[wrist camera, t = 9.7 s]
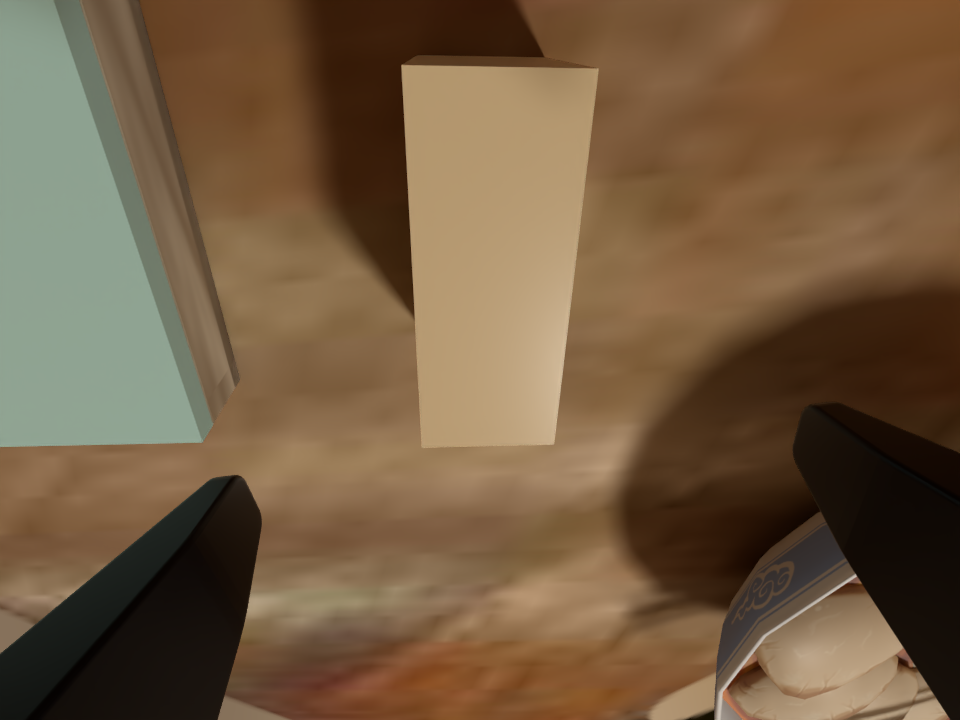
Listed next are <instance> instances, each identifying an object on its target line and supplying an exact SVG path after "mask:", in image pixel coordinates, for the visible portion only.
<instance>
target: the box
mask: <svg viewBox="0 0 960 720" xmlns="http://www.w3.org/2000/svg"><path fill="white" fill-rule="evenodd" d="M79 2H80V5H81V8H82V12H83V15H84V18H85V21H86V24H87V27H88V31H89V34H90V37H91V40H92V43H93V46H94V50H95V53H96V56H97V59H98V62H99V65H100V69H101V72H102V75H103V78H104V81H105V84H106V88H107V91H108V94H109V97H110V100H111V103H112V107H113V110H114V113H115V116H116V119H117V122H118V125H119V129H120V132H121V135H122V138H123V141H124V144H125V148H126V151H127V154H128V157H129V160H130V163H131V167H132V170H133V173H134V176H135V179H136V182H137V186H138V189H139V192H140V195H141V198H142V201H143V205H144V208H145V211H146V214H147V217H148V220H149V224H150V227H151V230H152V233H153V236H154V239H155V242H156V246H157V249H158V252H159V255H160V258H161V261H162V265H163V268H164V271H165V274H166V277H167V280H168V284H169V287H170V290H171V293H172V296H173V299H174V303H175V306H176V309H177V312H178V315H179V318H180V322H181V325H182V328H183V331H184V334H185V337H186V341H187V344H188V347H189V350H190V353H191V356H192V359H193V363H194V366H195V369H196V372H197V375H198V378H199V382H200V385H201V388H202V391H203V394H204V397H205V401H206V404H207V407H208V410H209V413H210V416H211V420H212V423H214V422H215V420H216V419H217V417H218V415H219V414H220V412H221V410H222V409H223V407H224V405H225V404H226V402H227V400H228V399H229V397H230V395H231V394H232V392H233V390H234V389H235V387H236V385H237V384H238V382H239V380H240V378H239V375H238V371H237V367H236V363H235V360H234V356H233V352H232V348H231V345H230V341H229V337H228V333H227V330H226V326H225V322H224V318H223V315H222V311H221V307H220V303H219V300H218V296H217V292H216V288H215V285H214V281H213V277H212V273H211V270H210V266H209V262H208V258H207V255H206V251H205V247H204V243H203V240H202V236H201V232H200V228H199V225H198V221H197V217H196V213H195V210H194V206H193V202H192V199H191V195H190V191H189V187H188V184H187V180H186V176H185V172H184V169H183V165H182V161H181V157H180V154H179V150H178V146H177V142H176V139H175V135H174V131H173V127H172V124H171V120H170V116H169V112H168V109H167V105H166V101H165V97H164V94H163V90H162V86H161V82H160V79H159V75H158V71H157V67H156V64H155V60H154V56H153V52H152V49H151V45H150V41H149V37H148V34H147V30H146V26H145V22H144V19H143V15H142V11H141V8H140V4H139V0H79Z"/></svg>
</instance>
